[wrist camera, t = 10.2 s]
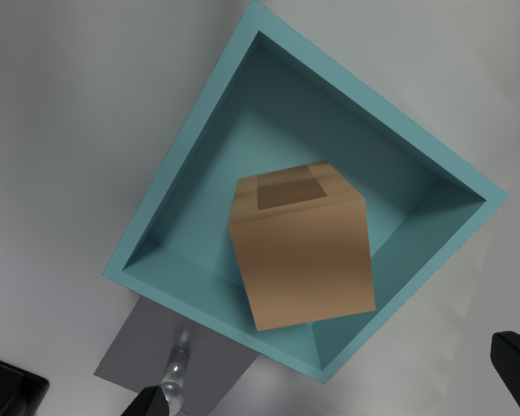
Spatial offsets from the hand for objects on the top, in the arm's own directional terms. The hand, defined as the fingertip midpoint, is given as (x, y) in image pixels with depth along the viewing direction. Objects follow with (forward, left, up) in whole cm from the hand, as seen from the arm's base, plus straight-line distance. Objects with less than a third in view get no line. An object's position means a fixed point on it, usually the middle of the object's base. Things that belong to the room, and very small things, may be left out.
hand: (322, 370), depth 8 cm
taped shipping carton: (0, 0, -12) cm, 12 cm away
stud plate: (-15, 0, -13) cm, 20 cm away
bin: (0, 0, -13) cm, 13 cm away
